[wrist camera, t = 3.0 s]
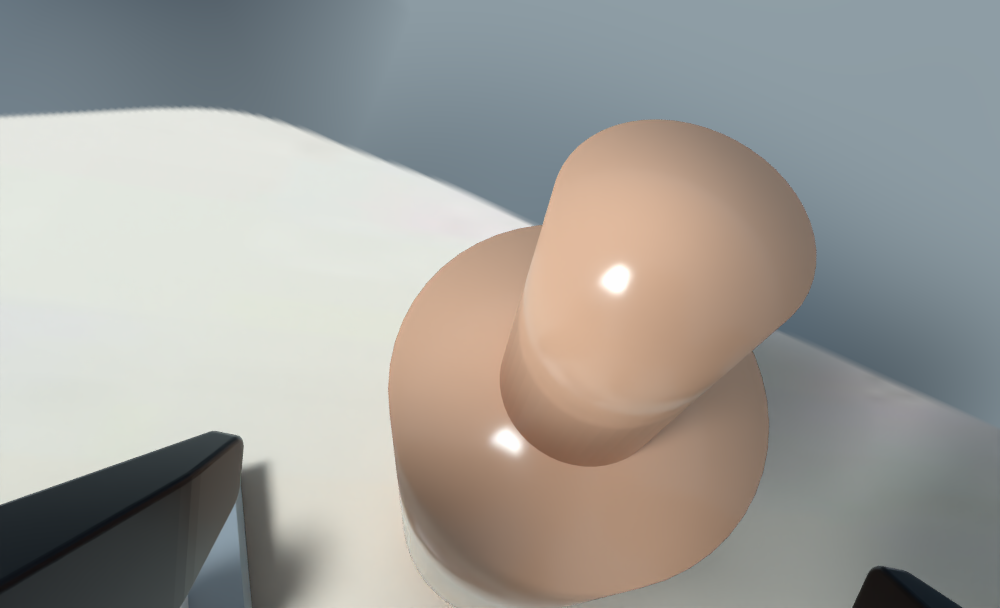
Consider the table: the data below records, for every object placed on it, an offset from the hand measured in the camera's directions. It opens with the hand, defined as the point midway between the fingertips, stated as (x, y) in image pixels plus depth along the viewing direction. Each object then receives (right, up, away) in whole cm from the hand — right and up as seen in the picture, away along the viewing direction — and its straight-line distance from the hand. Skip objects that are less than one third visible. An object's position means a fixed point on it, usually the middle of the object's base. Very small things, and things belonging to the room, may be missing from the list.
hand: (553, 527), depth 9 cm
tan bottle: (-1, -3, +9) cm, 9 cm away
